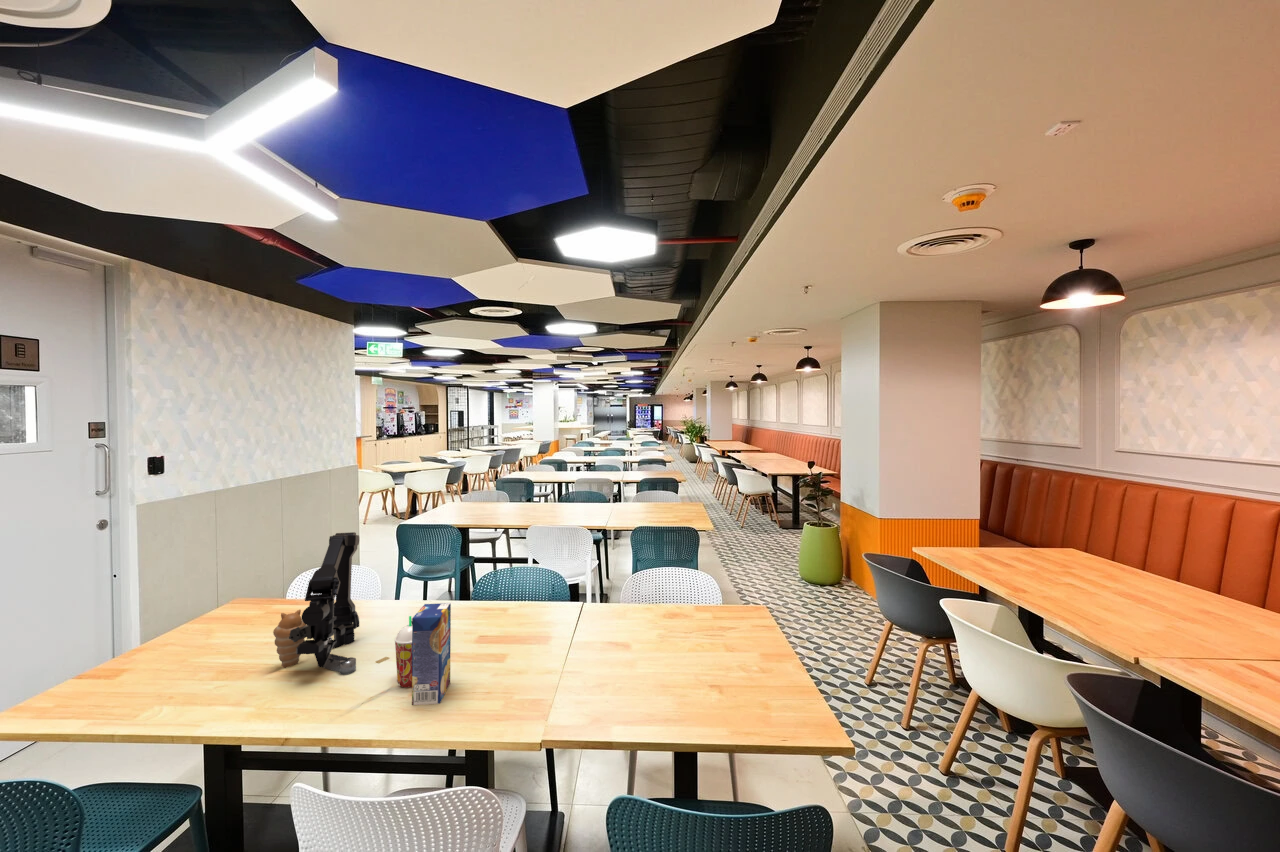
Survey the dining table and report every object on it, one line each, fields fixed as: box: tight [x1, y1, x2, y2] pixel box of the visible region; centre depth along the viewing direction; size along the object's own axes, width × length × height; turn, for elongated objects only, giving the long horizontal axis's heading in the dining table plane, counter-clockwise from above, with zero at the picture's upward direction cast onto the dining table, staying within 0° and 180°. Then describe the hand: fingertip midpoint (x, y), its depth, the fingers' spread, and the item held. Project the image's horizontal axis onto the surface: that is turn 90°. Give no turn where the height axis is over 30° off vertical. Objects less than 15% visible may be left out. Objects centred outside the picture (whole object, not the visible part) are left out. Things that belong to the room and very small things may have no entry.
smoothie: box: [394, 615, 412, 689], centre depth 156 cm, size 8×8×20 cm
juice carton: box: [411, 602, 452, 706], centre depth 150 cm, size 12×8×24 cm, turn 7°
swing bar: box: [317, 653, 357, 676], centre depth 163 cm, size 14×4×3 cm, turn 66°
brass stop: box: [374, 656, 391, 664], centre depth 169 cm, size 2×4×1 cm, turn 155°
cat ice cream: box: [272, 609, 306, 669], centre depth 167 cm, size 9×8×18 cm
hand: (321, 666), depth 161 cm, fingers closed
